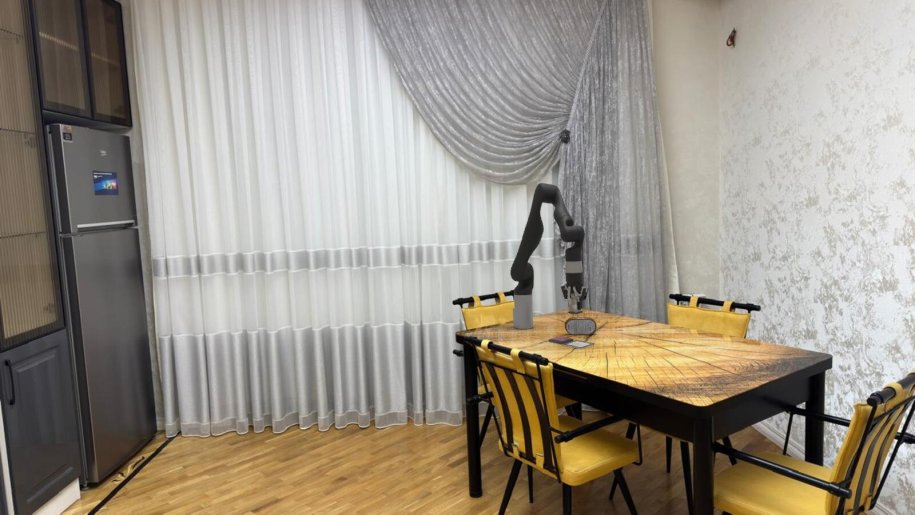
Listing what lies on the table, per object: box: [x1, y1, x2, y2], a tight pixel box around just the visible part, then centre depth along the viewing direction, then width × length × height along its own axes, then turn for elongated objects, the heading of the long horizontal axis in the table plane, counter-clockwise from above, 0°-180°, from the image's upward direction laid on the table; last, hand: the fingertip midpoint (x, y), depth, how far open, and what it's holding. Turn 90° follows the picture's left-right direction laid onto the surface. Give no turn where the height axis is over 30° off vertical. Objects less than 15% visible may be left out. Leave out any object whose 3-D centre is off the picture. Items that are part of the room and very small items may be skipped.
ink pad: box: [548, 335, 575, 345], centre depth 278 cm, size 8×8×1 cm
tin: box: [564, 316, 597, 336], centre depth 289 cm, size 15×3×8 cm, turn 84°
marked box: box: [562, 339, 596, 350], centre depth 270 cm, size 10×10×1 cm
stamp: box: [567, 293, 584, 315], centre depth 270 cm, size 5×5×9 cm
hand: (575, 309), depth 270 cm, fingers closed on stamp, 4 cm apart
